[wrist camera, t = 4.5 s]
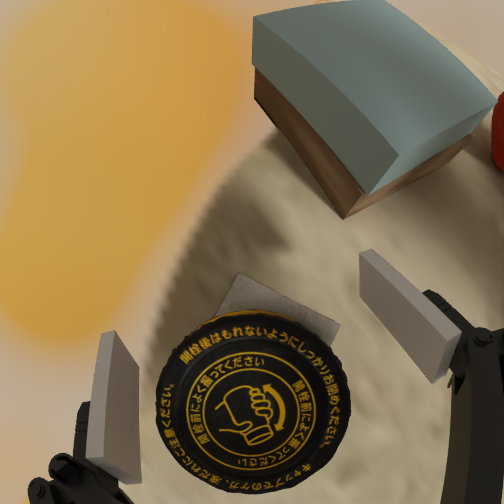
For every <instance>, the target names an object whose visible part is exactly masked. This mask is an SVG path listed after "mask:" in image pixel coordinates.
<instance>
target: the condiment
mask: <svg viewBox="0 0 504 504" xmlns="http://www.w3.org/2000/svg"><path fill="white" fill-rule="evenodd" d="M339 327H340V324H338V323H336V322H334V321H332V320H330V319H328V318H326V317H324V316H322V315H320V314H318V313H316V312H314V311H312V310H310V309H308V308H306V307H304V306H302V305H300V304H298V303H296V302H294V301H292V300H290V299H288V298H286V297H284V296H281V295H280V294H279V293H277V292H275V291H273V290H271V289H269V288H267V287H265V286H263V285H261V284H259V283H257V282H256V281H254V280H252V279H250V278H248V277H246V276H245V275H243V274H241V273H239V274H238V275H237V277H236V279H235V281H234V282H233V284H232V286H231V288H230V290H229V292H228V293H227V295H226V297H225V298H224V300H223V302H222V304H221V306H220V308H219V310H218V311H217V313H216V315H215V316H214V317H212V318H211V319H210V320H209V321H207V322H206V323H204V324H201V325H200V326H199V327H197V328H196V329H195V331H193V332H191V333H190V334H189V335H188V336H185V338H184V340H183V341H182V343H181V344H180V345H178V347H177V348H176V349H173V352H172V354H171V356H170V357H169V359H168V361H167V364H166V366H164V367H163V369H162V372H161V374H160V377H159V381H158V384H157V388H156V400H157V401H156V412H157V414H156V425H157V428H158V431H159V434H160V436H161V438H162V440H163V442H164V444H165V446H166V447H167V449H168V450H169V451H170V453H171V454H172V456H173V457H174V458H175V459H176V461H177V462H178V463H179V464H180V465H181V466H182V467H183V468H184V469H185V470H186V471H188V472H189V473H191V474H192V475H194V476H195V477H197V478H199V479H200V480H202V481H204V482H206V483H208V484H209V485H211V486H213V487H215V488H217V489H221V490H224V491H226V492H231V493H243V494H263V493H268V492H275V491H278V490H282V489H287V488H292V487H294V486H296V485H297V484H299V483H301V482H302V481H304V480H305V479H307V478H308V477H310V476H311V475H312V474H314V473H315V472H317V471H318V470H320V469H321V468H322V467H324V466H325V465H326V464H327V463H328V462H329V461H330V460H331V459H332V457H333V456H334V454H335V452H336V450H337V448H338V446H339V444H340V443H341V441H342V439H343V437H344V435H345V432H346V430H347V427H348V422H349V418H350V416H351V399H350V390H349V388H348V385H347V376H346V374H345V372H344V371H343V370H342V363H341V362H340V360H339V359H338V357H337V356H336V355H334V354H333V352H332V349H331V347H330V345H331V343H332V342H333V340H334V338H335V336H336V333H337V331H338V329H339Z"/></svg>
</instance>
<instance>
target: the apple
mask: <svg viewBox="0 0 504 504" xmlns="http://www.w3.org/2000/svg"><path fill="white" fill-rule="evenodd" d="M491 126H492V135H491V150H492V156H493V160H494V162H495V164H496V166H497V167H498V168H499V169H501V170H502V171H504V92H503V93H502V94H501V95H499V98H498V102H497V104H496V105H495V107H494V109H493V116H492V125H491Z"/></svg>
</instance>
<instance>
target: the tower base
mask: <svg viewBox="0 0 504 504" xmlns="http://www.w3.org/2000/svg"><path fill="white" fill-rule="evenodd" d="M254 85H255V86H254V87H255V88H254V100H255V101H256V102H257V103H258V105H259V106H260V107H261V108H262V110H263V111H264V112H265V114H266V115H267V116H268V117H269V119H270V120H271V122H272V123H273V124H274V126H275V127H276V128H277V127H279V128H280V130H281V131H282V132H283V134H284V135H285V136H286V138H287V139H288V140H289V142H290V143H291V145H292V146H293V147H294V149H295V150H296V151H297V153H298V154H299V156H300V157H301V158H302V160H303V161H304V163H305V164H306V166H307V167H308V168H309V170H310V171H311V173H312V174H313V176H314V177H315V179H316V180H317V181H318V183H319V184H320V186H321V187H322V189H323V190H324V192H325V193H326V195H327V196H328V198H329V199H330V201H331V202H332V204H333V206H334V207H335V209H336V210H337V212H338V213H339V215H340V216H341V218H342V220H344V219H345V218H347V217H349V216H351V215H353V214H355V213H357V212H359V211H360V210H362V209H364V208H366V207H368V206H370V205H372V204H374V203H375V202H377V201H379V200H381V199H383V198H385V197H386V196H388V195H390V194H392V193H394V192H396V191H398V190H399V189H401V188H403V187H405V186H407V185H409V184H410V183H412V182H414V181H416V180H418V179H420V178H421V177H423V176H425V175H427V174H429V173H431V172H432V171H434V170H436V169H438V168H440V167H442V166H443V165H445V164H447V163H449V162H450V161H451V160H452V159H453V158H454V157H455V156H456V155H457V154H458V153H459V152H460V151H461V150H462V149H463V148H464V147H465V146H466V145H467V144H468V143H469V141H470V140H471V139H472V137H471V136H470V135H469V134H468V135H466V136H465V137H463V138H461V139H460V140H458V141H457V142H455V143H453V144H452V145H450V146H449V147H447V148H445V149H444V150H442V151H441V152H439V153H437V154H436V155H434V156H432V157H431V158H429V159H428V160H426V161H424V162H423V163H421V164H419V165H418V166H416V167H415V168H413V169H411V170H410V171H408V172H406V173H405V174H403V175H401V176H400V177H398V178H397V179H395V180H393V181H392V182H390V183H388V184H387V185H385V186H383V187H382V188H380V189H378V190H377V191H375V192H374V193H372V194H370V195H369V196H367V194H366V193H365V191H364V190H363V189H362V187H361V186H360V185H359V184H358V182H357V181H356V180H355V178H354V177H353V176H352V174H351V173H350V172H349V171H348V169H347V168H346V167H345V166H344V164H343V163H342V162H341V161H340V159H339V158H338V157H337V156H336V154H335V153H334V152H333V151H332V150H331V148H330V147H329V146H328V145H327V144H326V142H325V141H324V140H323V139H322V138H321V137H320V135H319V134H318V133H317V132H316V131H315V130H314V128H313V127H312V126H311V125H310V124H309V123H308V122H307V121H306V119H305V118H304V117H303V116H302V115H301V114H300V113H299V112H298V111H297V110H296V108H295V107H294V106H293V105H292V104H291V103H290V102H289V101H288V100H287V99H286V98H285V97H284V96H283V95H282V94H281V92H280V91H279V90H278V89H277V88H276V87H275V86H274V85H273V84H272V83H271V82H270V81H269V80H268V79H267V78H266V77H265V76H264V75H263V74H262V73H261V72H260V71H259V70H258V69H257V68H256V67H255V84H254Z"/></svg>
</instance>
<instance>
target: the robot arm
mask: <svg viewBox="0 0 504 504" xmlns="http://www.w3.org/2000/svg"><path fill="white" fill-rule="evenodd" d="M359 269H360V297H361V299H362V300H363V301H364V302H365V303H366V304H367V306H368V307H369V308H370V309H371V310H372V311H373V313H374V314H375V315H376V316H377V317H378V319H379V320H380V321H381V322H382V323H383V325H384V326H385V327H386V328H387V329H388V331H389V332H390V333H391V334H392V335H393V337H394V338H395V339H396V340H397V341H398V343H399V344H400V345H401V346H402V348H403V349H404V350H405V351H406V352H407V354H408V355H409V356H410V357H411V359H412V360H413V361H414V362H415V364H416V365H417V366H418V367H419V369H420V370H421V371H422V373H423V374H424V375H425V376H426V378H427V379H428V380H429V381H430V383H431V384H434V383H435V382H437V381H438V380H440V379H442V378H443V377H445V376H446V373H447V371H448V368H450V369H451V371H452V372H453V374H452V376H451V378H450V381H449V383H448V386H447V388H450V386H451V384H452V399H451V423H450V437H449V448H448V457H447V465H446V473H445V479H444V485H443V491H442V497H441V502H440V504H501V498H502V489H503V478H504V328H502V329H499V330H495V331H490V330H488V329H486V328H482V327H478V328H475V327H474V326H472V325H471V324H470V323H469V322H468V321H467V320H466V319H465V318H464V317H463V316H462V315H461V314H460V313H459V312H458V311H457V310H456V309H454V308H452V306H451V305H450V304H449V303H448V302H446V300H445V299H444V298H443V297H441V296H440V295H439V294H438V293H435V292H433V291H431V290H429V289H428V290H426V291H424V292H422V293H421V292H420V291H419V290H418V289H417V288H416V287H415V286H414V285H413V284H412V283H410V282H409V281H408V280H407V279H406V278H405V277H404V276H403V275H402V274H401V273H399V272H398V271H397V270H396V269H395V268H394V267H393V266H392V265H390V264H389V263H388V262H387V261H386V260H385V259H384V258H382V257H381V256H380V255H379V254H378V253H377V252H375V251H374V250H373V249H369V250H367V251H364V252H361V253H359ZM76 423H77V425H76V429H75V431H76V433H75V438H74V449H73V457H72V456H70V455H69V454H66V453H59V454H57V455H55V456H54V457H53V458H52V459H51V461H50V464H49V469H48V472H49V475H50V477H51V478H53V479H54V480H52V481H49V482H48V481H47V480H45V479H44V478H40V477H38V478H34V479H33V480H32V481H31V482H30V484H29V487H28V497H29V501H30V504H134V503H133V502H132V501H131V499H130V498H129V497H128V496H127V495H126V494H125V493H124V491H123V490H122V489H120V488H119V486H118V480H119V481H121V482H122V483H124V484H126V485H127V484H139V483H142V476H141V461H140V439H139V366H138V365H137V363H136V362H135V361H134V359H133V357H132V356H131V354H130V353H129V352H128V350H127V348H126V347H125V345H124V344H123V342H122V341H121V339H120V338H119V336H118V335H117V333H116V331H115V330H114V331H111V332H107V333H103V334H101V339H100V344H99V350H98V355H97V361H96V367H95V374H94V380H93V387H92V395H91V401H88V402H83V403H82V404H81V406H80V409H79V410H78V413H77V420H76Z"/></svg>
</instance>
